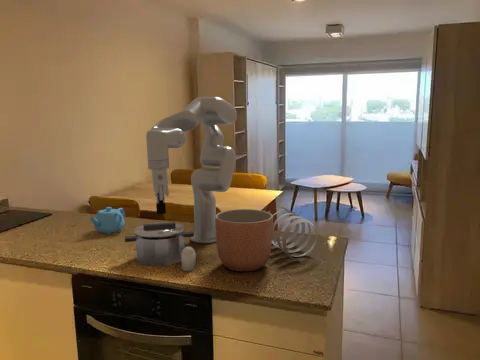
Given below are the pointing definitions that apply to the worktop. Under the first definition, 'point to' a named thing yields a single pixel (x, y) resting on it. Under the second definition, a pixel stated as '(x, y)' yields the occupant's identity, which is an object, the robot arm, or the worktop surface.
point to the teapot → (109, 220)
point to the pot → (159, 249)
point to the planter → (244, 238)
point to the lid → (159, 230)
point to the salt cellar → (188, 259)
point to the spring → (287, 231)
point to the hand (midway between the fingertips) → (161, 213)
